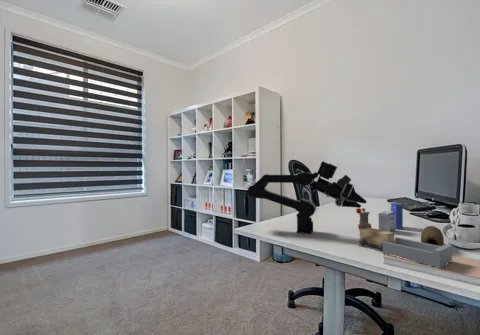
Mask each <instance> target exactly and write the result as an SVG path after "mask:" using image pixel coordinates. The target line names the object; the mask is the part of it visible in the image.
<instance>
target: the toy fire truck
mask: <svg viewBox="0 0 480 335" xmlns="http://www.w3.org/2000/svg"><path fill="white" fill-rule="evenodd" d="M355 212H356V213H357V214H358V215H359V214H360V213H364V212H366V208H361V207H360V208H355ZM358 222H359V223H358V227H357V228H358V230H359V231H360V220H359V221H358ZM368 228H372V224H371V223H370V222H368Z"/></svg>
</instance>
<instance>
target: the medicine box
mask: <svg viewBox="0 0 480 335" xmlns="http://www.w3.org/2000/svg"><path fill="white" fill-rule="evenodd" d="M378 230H383V231H388V232H395V231H396V229H395V212H391V211H389V210H385V211H382V212H378Z"/></svg>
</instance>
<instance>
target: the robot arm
mask: <svg viewBox="0 0 480 335" xmlns="http://www.w3.org/2000/svg"><path fill="white" fill-rule="evenodd" d="M337 169H338V166H336V165H334V164H331V163H328V162H325V161H323V160H322V161H321V163H320V166H319V167H318V170H317V172H316V171H314V172H312V173H311V172H301V173H296V174H294V173H293V174H267V173H266V174H264V175H262V176H261V177H260V179H258V180H257V181H255V183H254V184H253V185H250V186H248V188H247V195H248V196H249V197H250V198H252V199H253V198H254V199H261V200H264V199H265V200H267V201H271V202H274V203H276V204H279V205H283V206H286V207H288V208H291V209H294V210H295V211H297V212H298V213H296V224H297V225H296V233H297V234H313V232H314V221H312V216H313V215H314V214H315V212H316V211H317V206H316V204H315V203H314V201H312V200H311V199H306V198H304V197H301V198H300V200H299V199H294V198H292V197H289V196H285V195H282V194H279V193H276V192H273V191H270V190H268V189H267V188H266V187H267V186H268V184H270V183H271V184H272V183H275V184H276V183H281V184H282V183H283V184H284V183H286V184H289V183H290V184H291V183H292V184H295V185H296V184H297V185H300V186H309V190H310V193H311V194H313V193H314V192H315V191H317V192H319V193H321V194H324V195H325V196H326V197H327V198H332V199H334V200H335V201H334V204H335V206H337V207H341V208H342V207H343V208H344V207H345V208H355V209H357V208H360V209H361V207H362V204H367V202H368V201H367V200H366V199H365V198H364V197H362V196H361V195H360V194H359V193H358V192H356V190H355V186H354V184H352V183H350V182H351V181H352V178H350V177H349V176H348V175H347V174H344V175H343V176H342V178H339V179H337V181H332V182H330V181H329V180H330V179H333V177H334V175H335V173H336V171H337ZM315 179H317V180H315ZM311 184H312V185H311ZM310 185H311V186H310Z"/></svg>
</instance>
